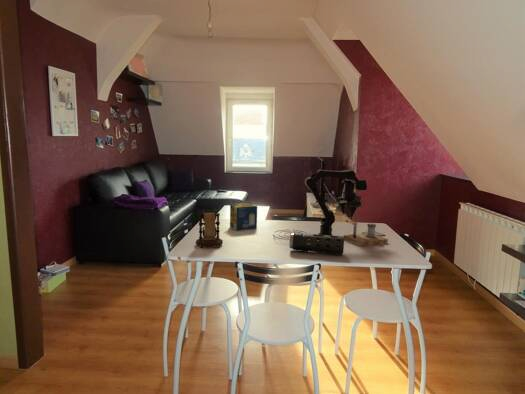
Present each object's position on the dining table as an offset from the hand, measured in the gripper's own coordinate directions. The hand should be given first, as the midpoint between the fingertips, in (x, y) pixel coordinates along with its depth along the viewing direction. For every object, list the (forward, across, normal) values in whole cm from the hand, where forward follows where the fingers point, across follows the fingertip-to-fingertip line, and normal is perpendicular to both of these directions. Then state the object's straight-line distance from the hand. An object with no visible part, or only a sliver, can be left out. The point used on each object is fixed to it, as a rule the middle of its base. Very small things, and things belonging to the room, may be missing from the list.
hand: (347, 215), depth 236 cm
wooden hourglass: (+13, +6, +88) cm, 89 cm away
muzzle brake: (+13, -25, +38) cm, 47 cm away
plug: (+13, -16, -6) cm, 21 cm away
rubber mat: (+13, -4, -18) cm, 23 cm away
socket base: (+13, -16, -2) cm, 20 cm away
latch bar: (+10, -7, +3) cm, 13 cm away
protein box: (+13, +38, +56) cm, 68 cm away
